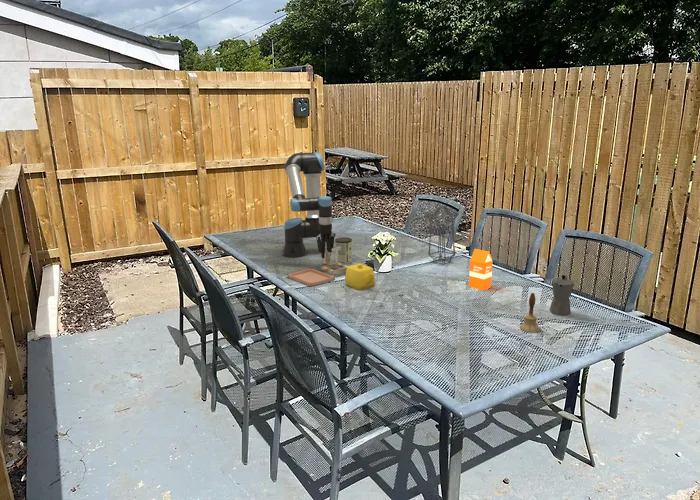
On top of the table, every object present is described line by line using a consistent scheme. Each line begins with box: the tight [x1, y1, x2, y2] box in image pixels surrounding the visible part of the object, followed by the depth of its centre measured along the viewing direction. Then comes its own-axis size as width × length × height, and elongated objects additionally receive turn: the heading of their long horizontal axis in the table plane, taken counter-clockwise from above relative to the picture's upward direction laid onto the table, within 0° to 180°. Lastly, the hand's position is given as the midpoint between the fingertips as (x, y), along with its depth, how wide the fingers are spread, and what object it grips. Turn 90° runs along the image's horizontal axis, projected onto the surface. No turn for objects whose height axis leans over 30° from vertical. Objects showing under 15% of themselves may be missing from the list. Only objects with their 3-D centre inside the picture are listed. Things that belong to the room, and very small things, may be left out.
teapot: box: [344, 263, 376, 291], centre depth 284 cm, size 20×12×12 cm, turn 36°
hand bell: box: [519, 292, 541, 333], centre depth 227 cm, size 8×8×16 cm
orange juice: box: [468, 248, 493, 291], centre depth 279 cm, size 8×9×20 cm
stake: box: [331, 246, 341, 275], centre depth 304 cm, size 4×6×15 cm
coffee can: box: [334, 237, 353, 265], centre depth 328 cm, size 10×10×14 cm
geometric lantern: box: [425, 205, 460, 265], centre depth 323 cm, size 16×16×35 cm
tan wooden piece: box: [320, 254, 349, 275], centre depth 307 cm, size 17×12×7 cm
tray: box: [287, 267, 336, 288], centre depth 296 cm, size 22×17×2 cm
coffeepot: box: [549, 274, 575, 317], centre depth 245 cm, size 15×9×18 cm, turn 151°
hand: (326, 262), depth 312 cm, fingers closed on tan wooden piece, 2 cm apart
